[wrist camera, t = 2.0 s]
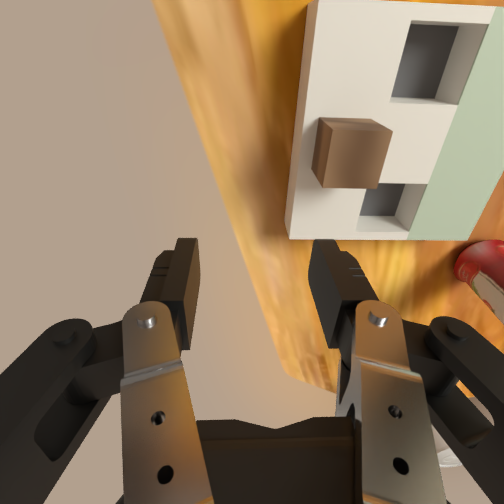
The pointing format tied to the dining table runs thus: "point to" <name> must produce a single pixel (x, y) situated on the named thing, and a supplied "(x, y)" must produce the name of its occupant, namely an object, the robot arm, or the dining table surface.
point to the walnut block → (350, 152)
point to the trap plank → (401, 117)
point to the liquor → (484, 273)
